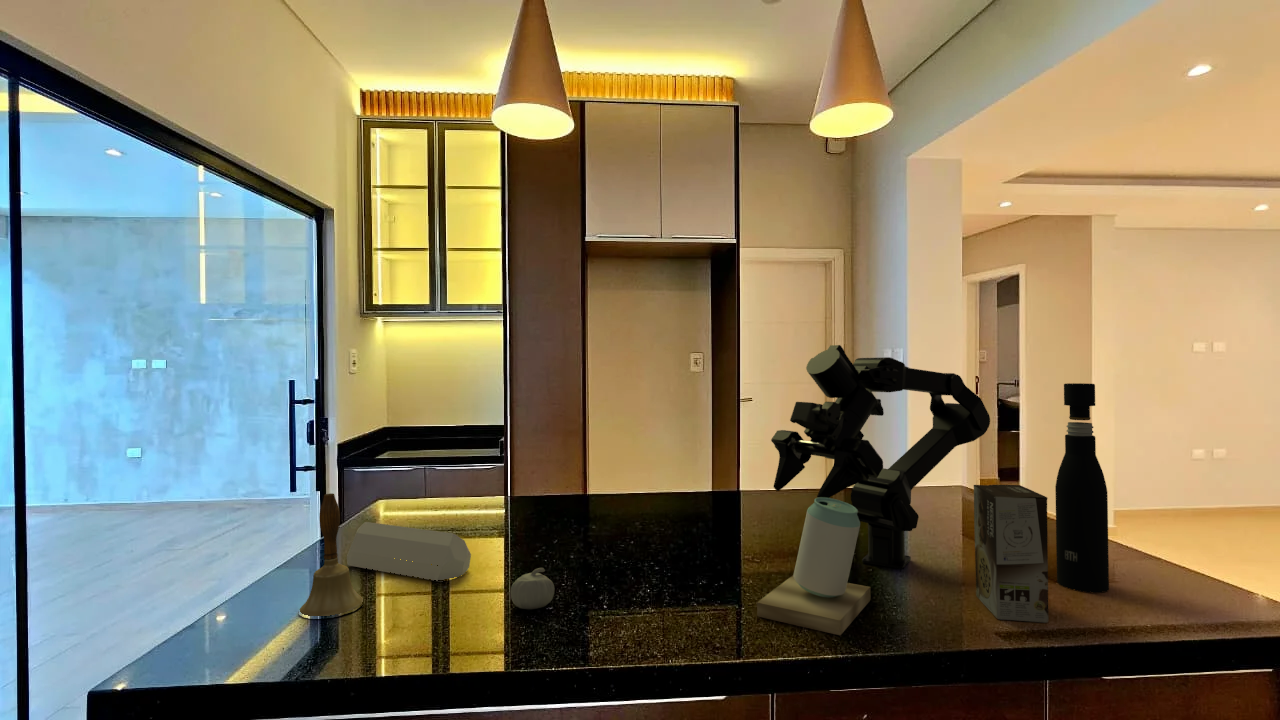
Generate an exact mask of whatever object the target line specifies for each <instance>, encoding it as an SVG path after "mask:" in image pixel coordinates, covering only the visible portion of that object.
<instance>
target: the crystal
mask: <svg viewBox="0 0 1280 720" xmlns="http://www.w3.org/2000/svg"><path fill="white" fill-rule="evenodd" d="M394 558H395V559H394ZM471 558H472V554H471V551H470V549H469V548H468V545H467V543H466V541H465V540H464V539H463V538H461V537H460V536H458V535H457V534H455V533H452V532H445V531H437V530H432V529H425V528H424V529H421V528H415V527H408V526H399V525H393V524H392V525H391V524H384V523H376V522H370V521H365V522H363V523H362V524H361V525H360V526H359V527H358V528H357V530H356V532H355V535H354V537H353V539H352V542H351V544H350V547H349V549H348V552H347V555H346V562H347V565H346V566H350V567H357V568H362V569H366V568H367V570H372V569H373V571H377V570H378V571H379V572H383V573H388V574H389V573H390V572H391V573H390V574H394V573H395V574H396V575H400V574H401V576H406V575H407V576H406V577H412V576H414V577H413V578H417V577H419V578H418V579H423V578H424V579H425V580H429V579H431V581H434V580H436V581H435V582H439V581H438V580H444V579H449V578H454V577H459V576H461V575H463V574H464V573H465V572H466V571H468V570H469V568H470V564H471ZM400 559H401V560H400ZM406 560H407V561H406ZM412 561H413V562H412ZM431 564H432V565H431ZM437 565H438V566H437ZM466 573H467V572H466ZM466 573H465V574H466ZM461 577H462V576H461ZM459 578H460V577H459Z"/></svg>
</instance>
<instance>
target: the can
mask: <svg viewBox="0 0 1280 720" xmlns="http://www.w3.org/2000/svg"><path fill="white" fill-rule="evenodd" d="M857 513H858V510H857V509H856V508H855V507H854V506H853V505H852V504H851V503H848V502H845V501H842V500H840V499H836V498H832V497H830V498H825V497H818V498H817V497H816V498H814V502H813V503H812V504H810V505H809V507H808V508H807V509H806V515H805V519H804V524H803V528H802V533H801V538H800V542H799V548H798V552H797V557H796V562H795V566H794V571H793V575H792V576H793V577H794V579H795V580H796V582H797V583H798V584H799V585H800V587H802V588H803V589H804V590H806V591H808V592H810V593H812V594H814V595H817V596H821V597H828V598H832V597H836V596H840V595H842V594H844V593H845V591H846V587H847V583H849V582H848V580H849V577H850V572H851V568H852V563H853V559H854V555H855V550H856V546H857V545H856V544H857V540H858V536H859V533H860V529H861V528H860V527H861V522H860V521H859V518H858V516H857Z"/></svg>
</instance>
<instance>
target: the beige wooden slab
mask: <svg viewBox="0 0 1280 720" xmlns="http://www.w3.org/2000/svg"><path fill="white" fill-rule="evenodd" d="M870 601H871V586H868V585H867V586H866V585H863V584H856V583H850V582H847V587H846V591H845V593H844V594H842V595H840V596H836V597H832V598H828V597H821V596H817V595H814V594H812V593H810V592H808V591H806V590H804V589H803V588H802V587H800V585H799V584H798V583H797V582H796V580H795V579H794V577H793V575H791V576H790V577H788V578H787V579H786V580H784V581H783V582H782V583H781V584H780V585H778V586H777V587H775V588H774V589H773V590H770V592H769V593H767V594H766V595H765V596H764V597H762V598H761V599H760V600H758V601H757V602H756V608H757V609H756V610H757V612H756V614H757V615H756V617H760V618H763V619H768V620H772V621H777V622H781V623H785V624H789V625H792V626H793V625H794V626H798V627H803V628H807V629H811V630H815V631H820V632H823V633H824V632H825V633H829V634H832V635H837V636H842V634H843V633H844V632H845V631H846V630H847V628H849V626H850V625H851V624H852V622H854V620H855V619H856V617H858V616H859V614H861V612H862V611H863V610H864V609H865V607H866V606H867V605H868V604H869V603H870Z"/></svg>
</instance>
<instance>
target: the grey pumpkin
mask: <svg viewBox="0 0 1280 720" xmlns="http://www.w3.org/2000/svg"><path fill="white" fill-rule="evenodd" d="M544 572H545V568H544V567H539V568H535V569H534V570H533V571H532V572H529V573H525V574H522V575H521V576H520V577H518V578H517V579H516V580H515V581H514V582H513V583H512V585H511V588H510V599H511V601H512V603H513V604H514V605H515V606H516V607H517V608H518V609H521V610H536V609H541V608H545V607H547V605H548V604H550V603H551V602H552V600H553V598H554V596H555V585H554V582H553V581H552V580H551V579H549V577H548V576H546V575H543V574H542V573H544Z"/></svg>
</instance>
